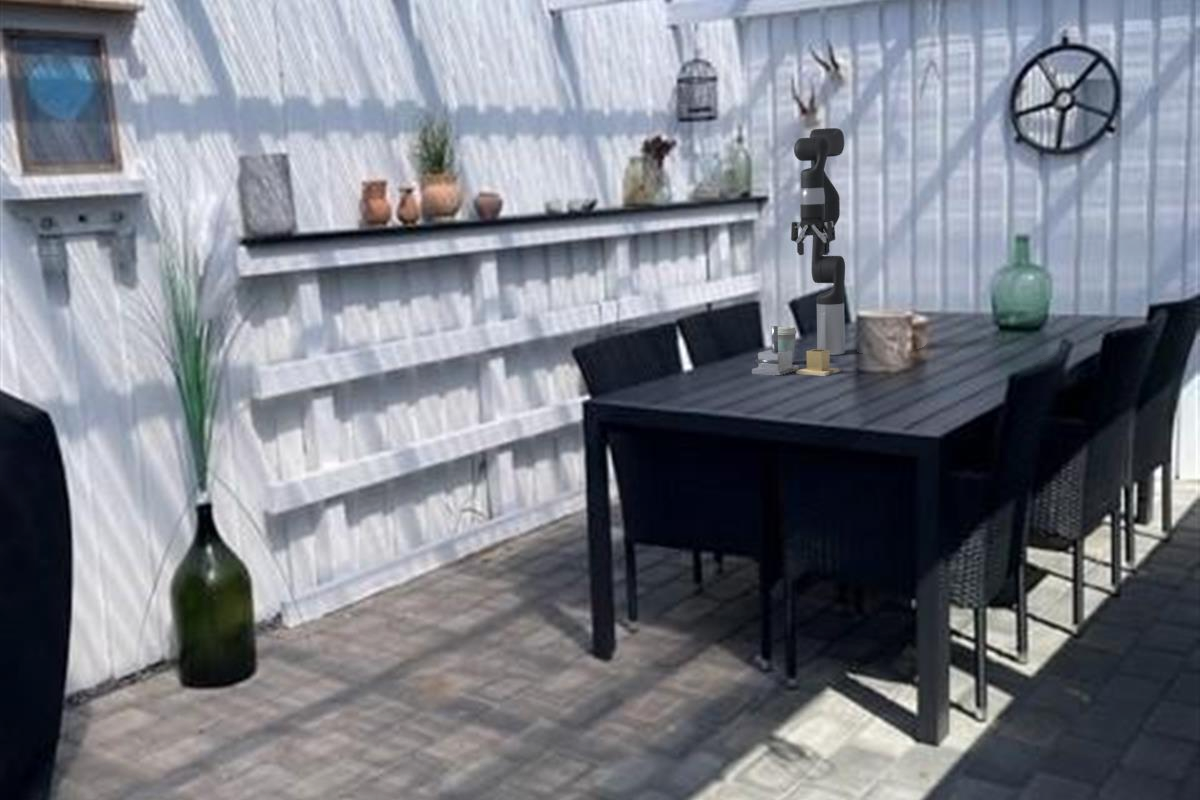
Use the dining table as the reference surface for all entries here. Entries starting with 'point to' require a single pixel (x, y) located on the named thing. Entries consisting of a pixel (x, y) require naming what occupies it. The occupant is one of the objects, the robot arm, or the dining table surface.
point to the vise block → (774, 359)
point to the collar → (818, 359)
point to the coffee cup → (786, 338)
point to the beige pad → (818, 372)
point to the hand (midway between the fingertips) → (813, 254)
